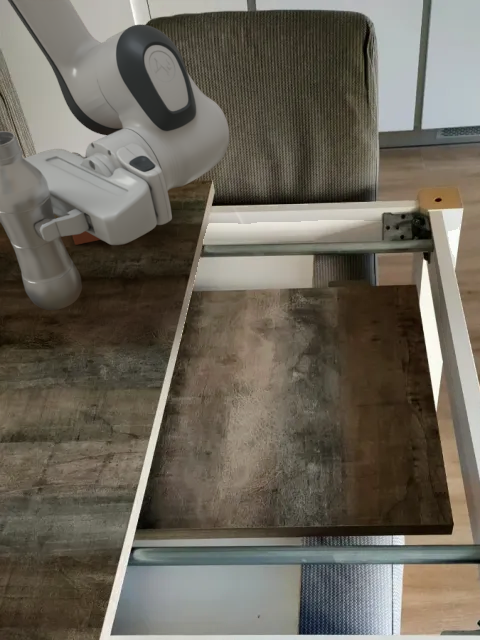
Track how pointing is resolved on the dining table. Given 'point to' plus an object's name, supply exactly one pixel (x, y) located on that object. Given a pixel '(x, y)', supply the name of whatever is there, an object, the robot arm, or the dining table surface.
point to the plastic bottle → (19, 223)
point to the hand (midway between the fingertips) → (21, 223)
